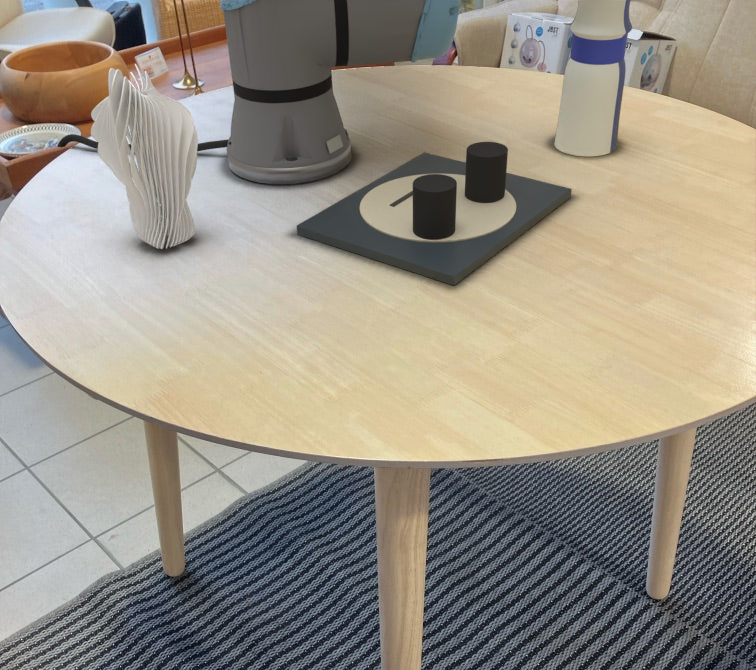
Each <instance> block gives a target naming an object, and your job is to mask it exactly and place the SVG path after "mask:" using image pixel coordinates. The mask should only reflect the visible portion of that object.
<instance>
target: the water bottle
mask: <svg viewBox="0 0 756 670" xmlns="http://www.w3.org/2000/svg"><path fill="white" fill-rule="evenodd" d="M631 1H632V0H577V9H576V14H575V15H574V16H575V17H574V19H573V20H572V21H571V23H570V24H569V29H570V31H571V32H572V35H571V43H570V44H571V45H570V53H569V57H568V59H567V61H566V64H565V67H564V73H563V81H562V88H561V96H560V103H559V104H560V105H559V112H558V117H557V125H556V131H555V137H554V141H553V142H554V143H553V145H554V147H555V149H557V150H558V151H559V152H562V153H564V154H567V155H571V156H577V157H600V156H605V155H608V154H611V153H613V152H614V151H615V150H617V147H618V137H619V127H620V118H621V109H622V100H623V95H624V87H625V82H626V81H625V80H626V69H627V68H626V59H625V57H626V49H627V42H628V35H629V33H630V32H632V30H633V25H632V22H631V19H630V6H631Z"/></svg>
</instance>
